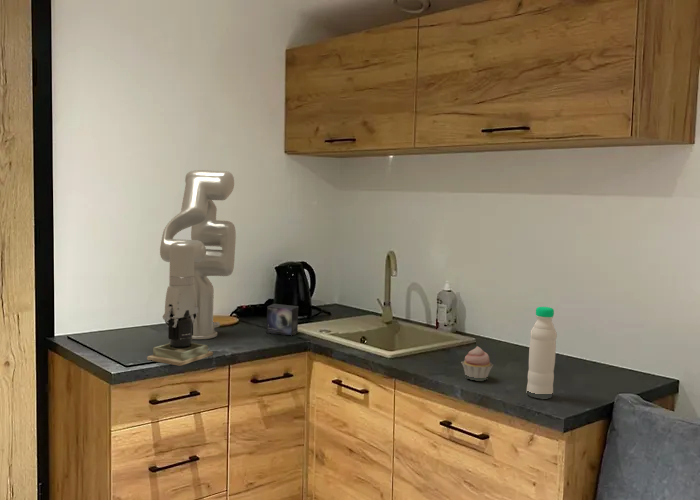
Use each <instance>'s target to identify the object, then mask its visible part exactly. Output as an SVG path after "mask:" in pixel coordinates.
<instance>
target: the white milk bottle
mask: <svg viewBox="0 0 700 500" xmlns="http://www.w3.org/2000/svg"><path fill="white" fill-rule="evenodd" d="M554 314H555V310H554V308H553V307H550V306H549V307H548V306H538V307H537V308H536V309H535V316H536V321H535V323H534V324H533V326H532V328H531V329H530V340H529V351H528V371H527V385H526V392H527V391H529V392H531V393H535V394H552V393H553V394H554V379H555V373H554V371H555V364H556V351H557V349H556V348H557V345H556V343H557V340H556V339H557V337H558V336H557V335H558V334H557V332H556V328H555V326H554V323H553V319H554Z"/></svg>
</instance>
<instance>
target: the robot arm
mask: <svg viewBox="0 0 700 500" xmlns="http://www.w3.org/2000/svg"><path fill="white" fill-rule="evenodd" d="M184 178H185V180H184V182H185V187H184V193H183V196H182V203H181V209H180V212H179V213H177V214H175V216H174V217H173V218H171V219H170V220H169V222H168V223H167V224H166V226H165V227H164V229H163V232H162V234H161V240H160V241H161V242H160V246H159V247H160V248H159V255H160V258H161V260H163V261H164V262H166V263H169V276H168V277H169V278H168V279H169V281H168V282H169V285H168V286H167V290H166V293H165V301H164V314H163V315H162V319H163V321H164V322H165V324H166V326H167V327H168V331H167V332H168V333H167V335H168V337H167V338H168V340H170V339H172V340H177V339H178V327H176V326H177V322H178V319H179V318H183V317H184V314H185V312H186V310H189V314H190V315H189V317H190V318H191V319H192V340H209V339H213V338H217V336H218V332H217V331H216V330H215V328H219V327H220V326H221V323H220V321H214V295H215V294H214V286H213V284H212V282H211V281H210V279H209V278H208V277H230V276H231V275H232V274H233V271H234V267H235V254H236V243H237V242H236V240H237V236H236V235H237V234H236V227H235V224H234V223H233V222H231V221H229V220H220V219H219V220H218V219H217V211H218V209H217V206H216V204H215V202H214V201H225V200H227V199H228V198H229V197H230V196H231V194H232V193H233V191H234V187H235V179H234V178H235V177H234V176H233V173H232V172H230V171H225V170H208V169H207V170H206V169H205V170H203V169H201V170H197V169H196V170H191V171H188V172H187V173H186V175H185V177H184ZM188 228H190V229H191V230H190V239H182V238H181V239H179V238H177V239H174V237H175V236H176V235H177V234H178V233H180V232H181V231H183V230H186V229H188ZM207 247H217V248H218V247H219V248H221V249H210V248H207ZM173 319H174V322H173V321H172V320H173Z"/></svg>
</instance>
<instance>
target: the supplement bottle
mask: <svg viewBox="0 0 700 500" xmlns="http://www.w3.org/2000/svg"><path fill="white" fill-rule="evenodd" d="M189 315H190V314H189V310H186V312H185V314H184V317H183V318H179V319H178V322H177V326H176V327H178V339H177V340H172V339H169V343H170V347H172V348H177V349H184V348H189V347H191V345H192V343H193V339H192V319H191V318H190V317H189ZM172 321H173V322H174V319H173V320H172Z"/></svg>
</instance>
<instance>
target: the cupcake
mask: <svg viewBox="0 0 700 500" xmlns="http://www.w3.org/2000/svg"><path fill="white" fill-rule="evenodd" d="M460 363H461V365H462V367H463V370H464V371H463V372H464V376H465V375H467V376H469V377H474V378H486V377H488V378H489V375H490V371H491V369H492V368H493V366H494V364H492V362H490V356H489V354H488V353H487V352H485V351H484V350H483V349H482V348H481V347H479V346H478V345H477V346H476V347H475V348H473V349H471V350H470V351H468V353H467V354H466V355H465V357H464V360H463V361H461V362H460Z"/></svg>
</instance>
